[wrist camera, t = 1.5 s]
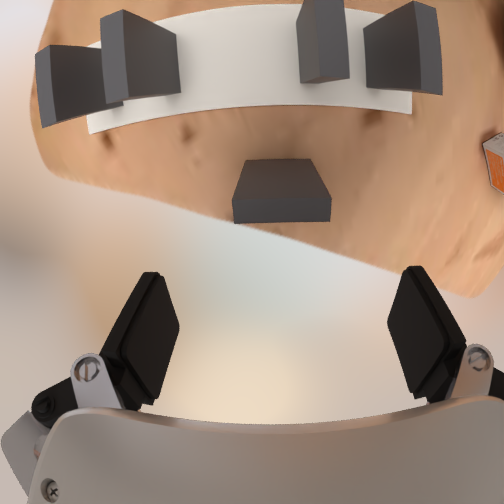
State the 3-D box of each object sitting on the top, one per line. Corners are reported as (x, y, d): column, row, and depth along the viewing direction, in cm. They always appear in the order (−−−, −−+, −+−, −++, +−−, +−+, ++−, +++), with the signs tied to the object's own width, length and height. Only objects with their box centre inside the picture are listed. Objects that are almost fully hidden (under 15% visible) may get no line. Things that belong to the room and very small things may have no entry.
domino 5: (379, 31, 16) (435, 8, 8) (382, 89, 19) (442, 95, 11) (362, 28, 16) (413, 0, 8) (366, 87, 19) (421, 90, 11)
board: (404, 21, 15) (407, 20, 15) (408, 113, 21) (411, 114, 20) (82, 50, 18) (79, 49, 17) (92, 133, 23) (89, 134, 23)
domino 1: (118, 50, 18) (49, 44, 10) (123, 105, 21) (56, 122, 13) (104, 55, 18) (35, 54, 10) (110, 109, 21) (42, 128, 13)
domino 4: (314, 23, 16) (341, -16, 8) (318, 83, 20) (350, 78, 11) (295, 22, 17) (311, -19, 8) (300, 83, 20) (320, 76, 12)
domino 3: (245, 160, 25) (231, 200, 16) (310, 158, 24) (331, 197, 16) (246, 176, 26) (234, 223, 17) (310, 174, 25) (330, 221, 17)
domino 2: (176, 34, 18) (122, 9, 9) (181, 92, 21) (128, 97, 12) (159, 38, 18) (100, 18, 9) (164, 95, 21) (106, 103, 13)
